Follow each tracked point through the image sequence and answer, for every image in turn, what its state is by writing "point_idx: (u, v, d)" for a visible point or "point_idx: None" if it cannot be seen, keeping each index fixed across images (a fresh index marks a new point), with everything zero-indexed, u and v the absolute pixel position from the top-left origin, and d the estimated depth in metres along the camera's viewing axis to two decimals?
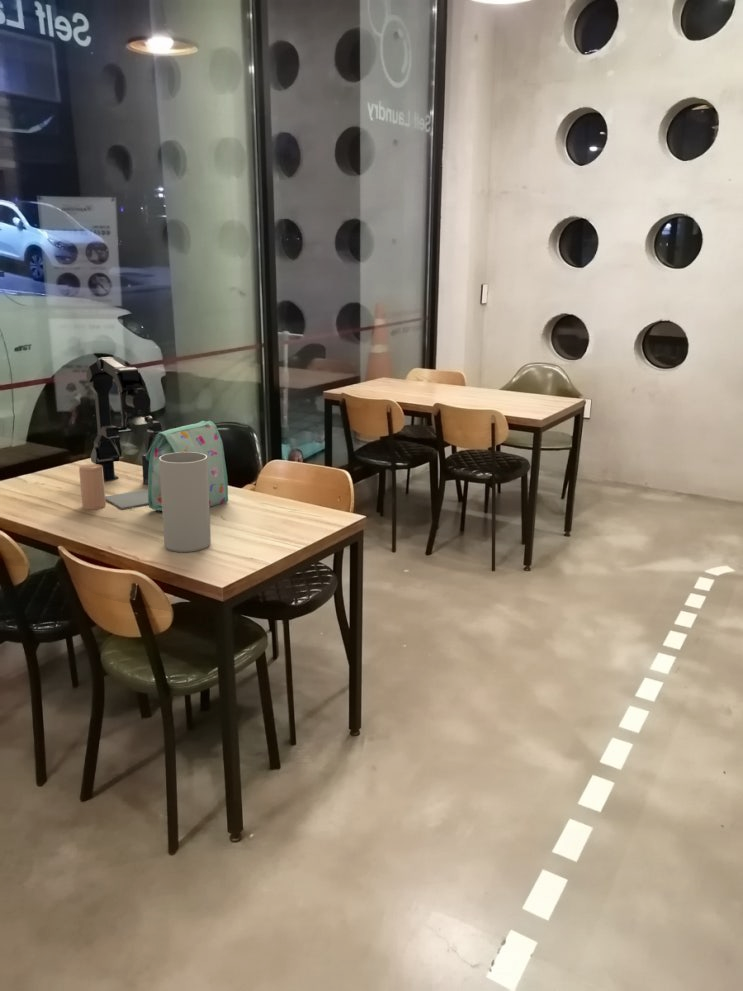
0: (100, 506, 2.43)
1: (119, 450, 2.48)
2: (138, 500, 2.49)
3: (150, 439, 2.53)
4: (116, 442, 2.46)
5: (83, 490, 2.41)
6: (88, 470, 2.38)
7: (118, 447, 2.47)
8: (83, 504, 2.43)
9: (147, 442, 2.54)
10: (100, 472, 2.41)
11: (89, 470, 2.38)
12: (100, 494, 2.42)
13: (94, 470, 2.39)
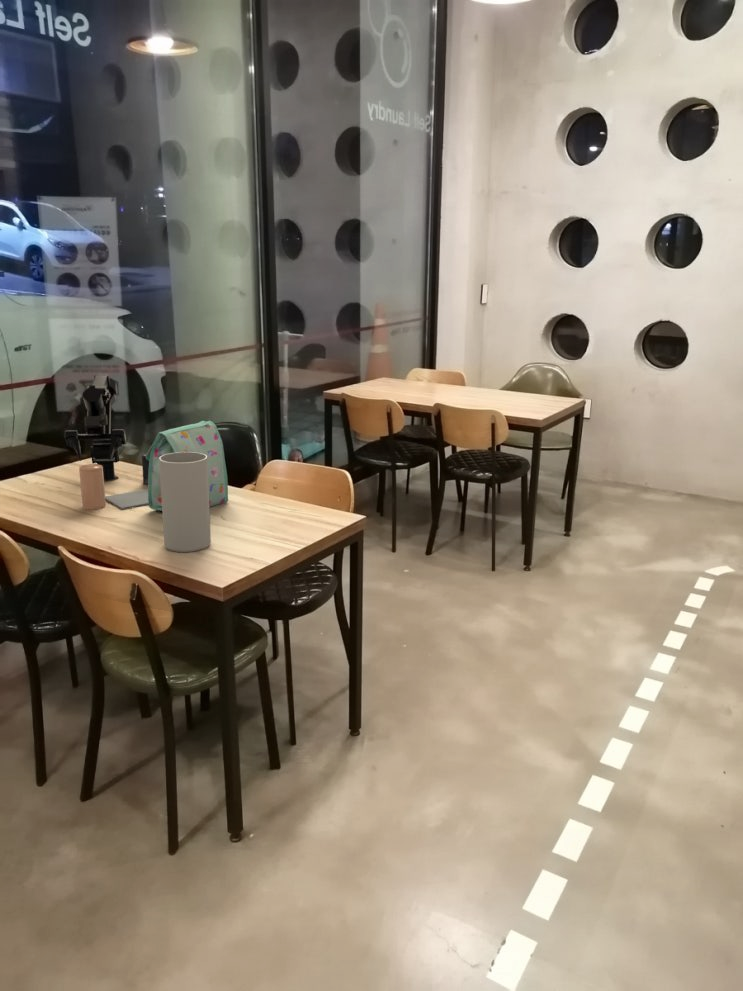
0: (100, 506, 2.43)
1: (78, 452, 2.48)
2: (138, 500, 2.49)
3: (112, 444, 2.51)
4: (75, 444, 2.49)
5: (83, 490, 2.41)
6: (88, 470, 2.38)
7: (77, 449, 2.48)
8: (83, 504, 2.43)
9: (110, 449, 2.51)
10: (100, 472, 2.41)
11: (89, 470, 2.38)
12: (100, 494, 2.42)
13: (94, 470, 2.39)
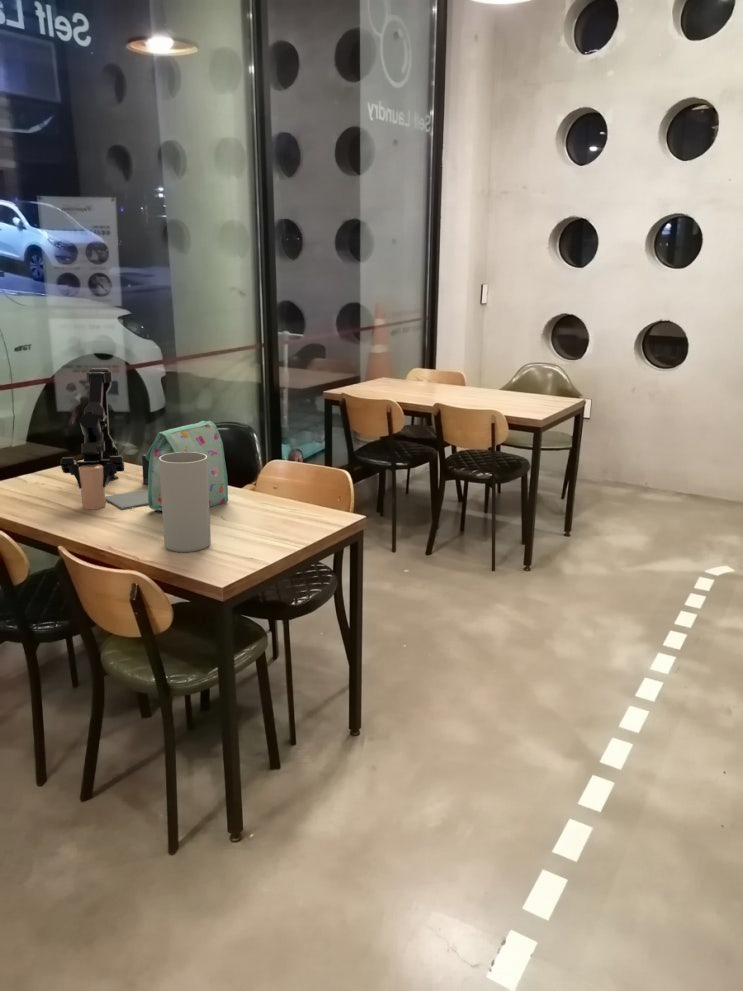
0: (100, 506, 2.43)
1: (78, 480, 2.41)
2: (138, 500, 2.49)
3: (106, 472, 2.44)
4: (75, 471, 2.42)
5: (83, 490, 2.41)
6: (88, 470, 2.38)
7: (77, 477, 2.42)
8: (83, 504, 2.43)
9: None
10: (100, 472, 2.41)
11: (89, 470, 2.38)
12: (100, 494, 2.42)
13: (94, 470, 2.39)
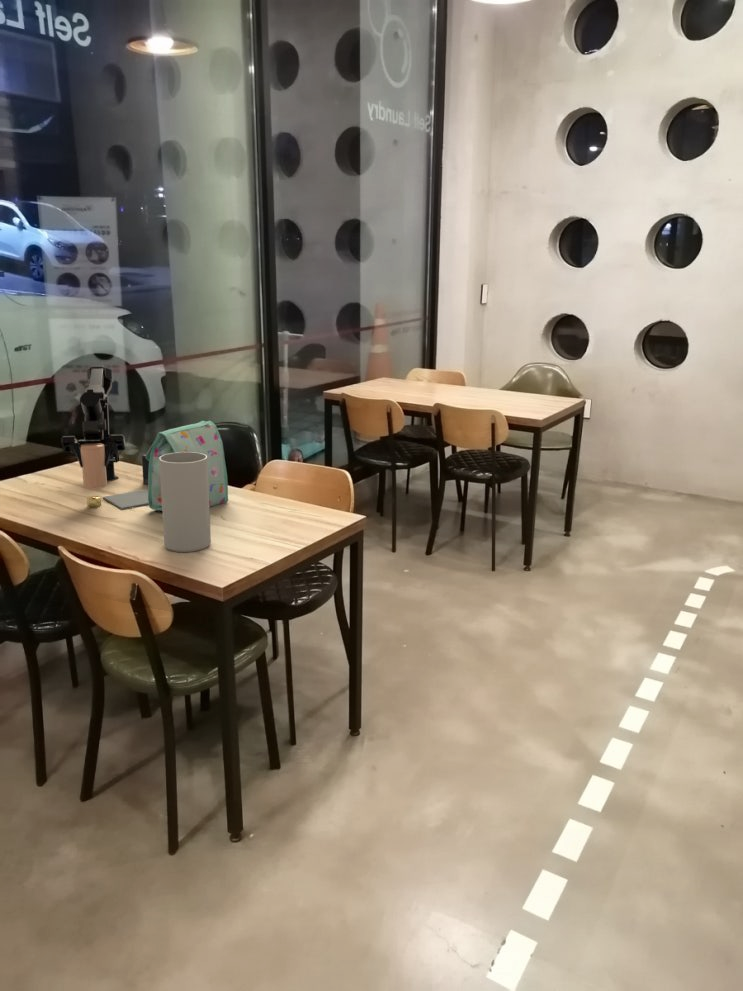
0: (102, 485, 2.42)
1: (79, 459, 2.40)
2: (138, 500, 2.49)
3: (107, 450, 2.42)
4: (76, 450, 2.40)
5: (84, 469, 2.39)
6: (90, 448, 2.37)
7: (78, 455, 2.40)
8: (84, 483, 2.41)
9: None
10: (102, 451, 2.39)
11: (91, 448, 2.37)
12: (101, 473, 2.40)
13: (96, 448, 2.37)
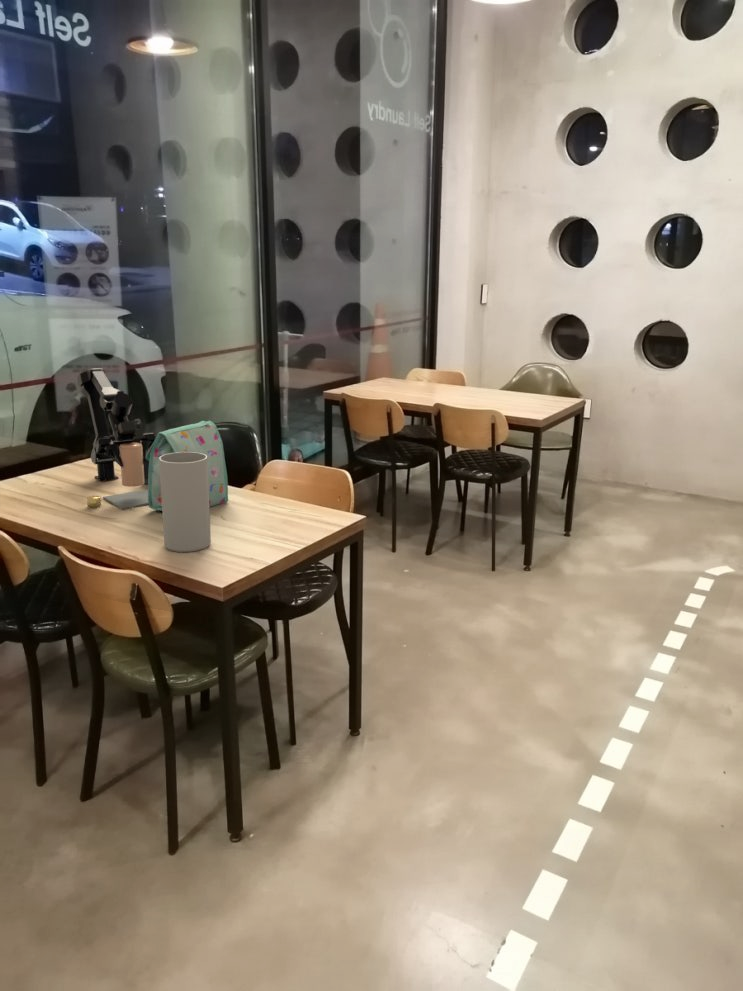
0: (142, 482, 2.50)
1: (119, 459, 2.46)
2: (138, 500, 2.49)
3: (143, 449, 2.51)
4: (114, 451, 2.46)
5: (126, 468, 2.46)
6: (133, 448, 2.45)
7: (117, 456, 2.46)
8: (125, 482, 2.48)
9: None
10: (141, 449, 2.48)
11: (134, 448, 2.45)
12: (142, 471, 2.49)
13: (138, 447, 2.46)
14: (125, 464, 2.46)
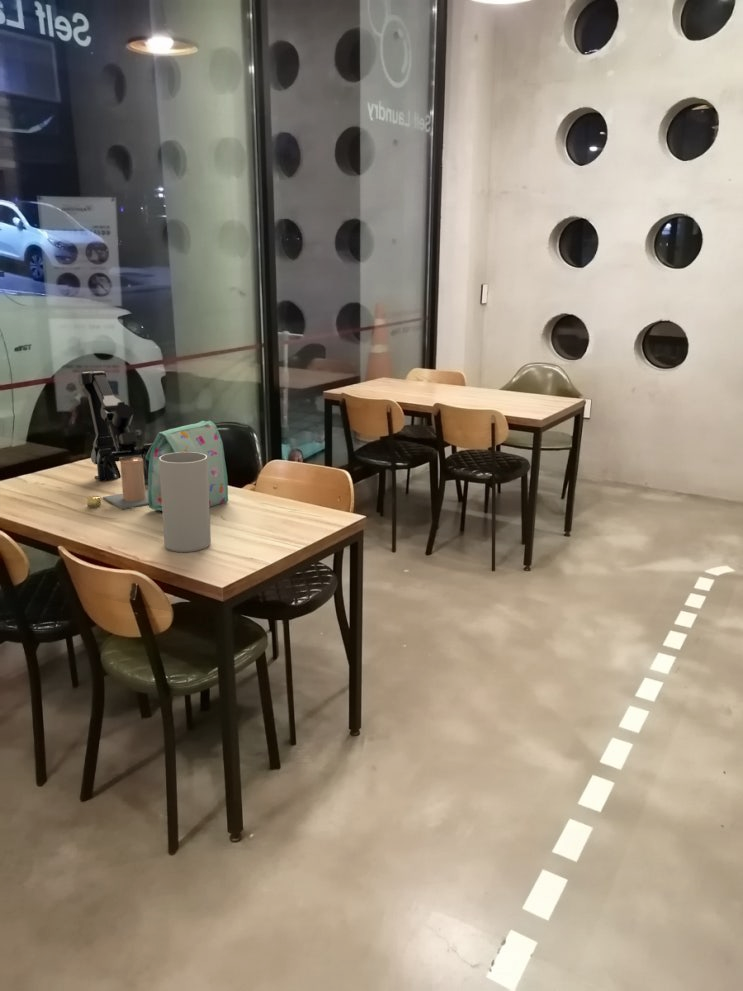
0: (143, 497, 2.51)
1: (117, 470, 2.46)
2: None
3: None
4: (112, 462, 2.46)
5: (127, 483, 2.47)
6: (134, 462, 2.46)
7: (115, 467, 2.46)
8: (126, 497, 2.49)
9: (145, 464, 2.52)
10: (142, 464, 2.49)
11: (135, 462, 2.46)
12: (143, 485, 2.50)
13: (139, 462, 2.47)
14: (126, 479, 2.47)
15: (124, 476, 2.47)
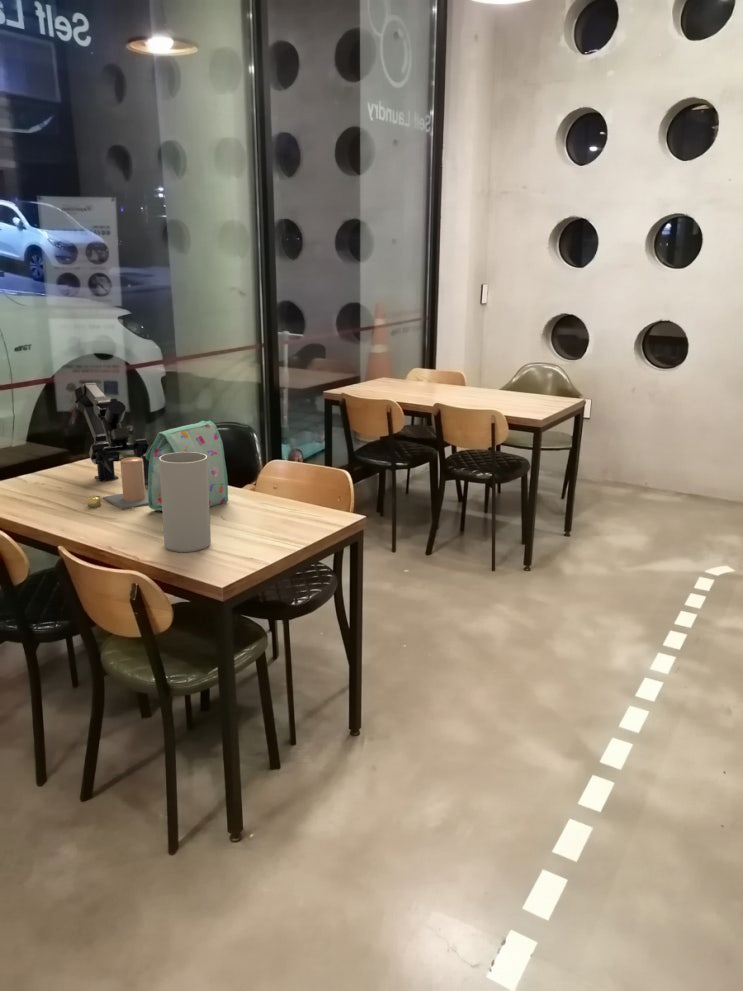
0: (143, 497, 2.51)
1: (109, 464, 2.53)
2: None
3: (138, 454, 2.59)
4: (104, 457, 2.53)
5: (127, 483, 2.47)
6: (134, 462, 2.46)
7: (107, 462, 2.53)
8: (126, 497, 2.49)
9: None
10: (142, 464, 2.49)
11: (135, 462, 2.46)
12: (143, 485, 2.50)
13: (139, 462, 2.47)
14: (126, 479, 2.47)
15: (124, 476, 2.47)
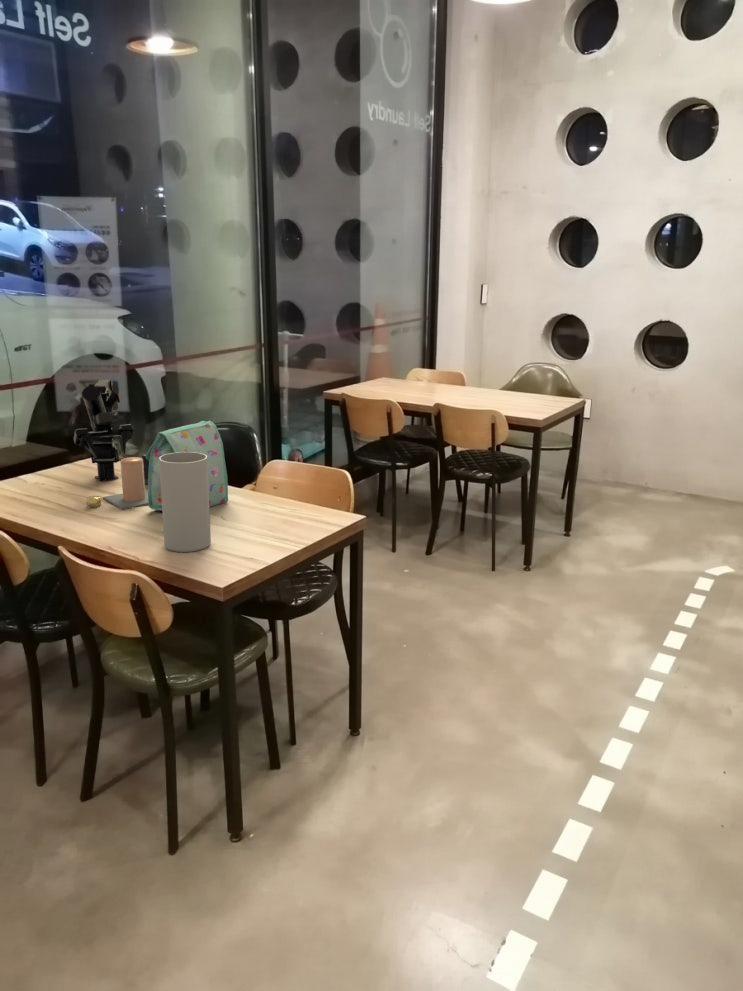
0: (143, 497, 2.51)
1: (93, 449, 2.51)
2: None
3: (123, 439, 2.57)
4: (88, 442, 2.51)
5: (127, 483, 2.47)
6: (134, 462, 2.46)
7: (91, 446, 2.51)
8: (126, 497, 2.49)
9: (122, 444, 2.57)
10: (142, 464, 2.49)
11: (135, 462, 2.46)
12: (143, 485, 2.50)
13: (139, 462, 2.47)
14: (126, 479, 2.47)
15: (124, 476, 2.47)
